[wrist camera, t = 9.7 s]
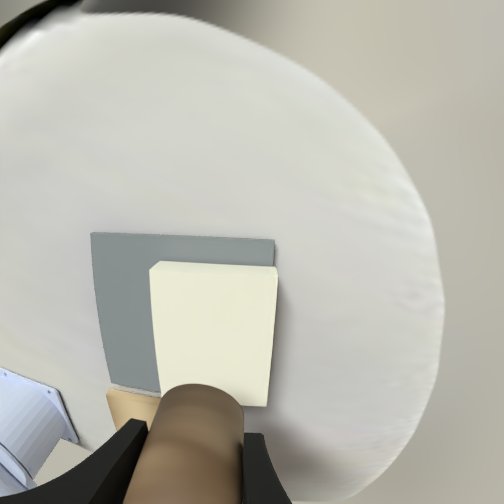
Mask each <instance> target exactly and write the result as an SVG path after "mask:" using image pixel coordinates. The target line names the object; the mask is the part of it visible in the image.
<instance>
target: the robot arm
mask: <svg viewBox="0 0 504 504" xmlns="http://www.w3.org/2000/svg"><path fill="white" fill-rule="evenodd" d="M148 432H149V431H148V427H147V422H146V421H144V420H139V419H134V418H131V419H129V420H128V421H127V422H126V423H125V424H124V425H123V426H122V427H121V428H120V429H119V430H118V431H117V432H116V433H115V434H114V435H113V436H112V437H111V438H110V439H109V440H108V441H107V442H105V443H104V444H103V445H102V446H101V447H100V448H99V449H97V450H96V451H95V452H94V453H93V454H91V455H90V456H89V457H87V458H86V459H85V460H84V461H82V462H81V463H80V464H78V465H77V466H75V467H74V468H72V469H71V470H69V471H68V472H66V473H65V474H63V475H61V476H59V477H57V478H55V479H53V480H51V481H49V482H47V483H45V484H43V485H40V486H38V487H37V484H36V483H35V482H34V481H33V479H34V478H35V476H36V475H37V473H38V471H39V470H40V468H41V467H42V465H43V464H44V462H45V461H46V459H47V457H48V456H49V455H50V453H51V452H52V450H53V449H54V447H55V446H56V444H57V442H58V441H59V440H60V438H62V439H64V440H67V441H70V442H72V443H75V444H77V443H78V438H77V436H76V434H75V432H74V430H73V427H72V425H71V423H70V420H69V418H68V416H67V413H66V411H65V408H64V406H63V403H62V401H61V398H60V395H59V393H58V391H57V390H56V389H54V388H52V387H49V386H46V385H43V384H40V383H38V382H35V381H32V380H30V379H27V378H25V377H22V376H20V375H17V374H15V373H13V372H10V371H8V370H6V369H3V368H1V367H0V504H123V501H124V499H125V496H126V493H127V490H128V487H129V484H130V481H131V479H132V476H133V473H134V470H135V468H136V465H137V462H138V459H139V457H140V454H141V451H142V448H143V446H144V443H145V440H146V438H147V435H148ZM242 467H243V493H242V504H292V503H291V501H290V499H289V498H288V496H287V494H286V492H285V491H284V489H283V487H282V485H281V483H280V481H279V479H278V477H277V475H276V472H275V470H274V468H273V466H272V463H271V460H270V458H269V455H268V452H267V448H266V445H265V440H264V435H263V434H261V433H244V441H243V462H242Z"/></svg>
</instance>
